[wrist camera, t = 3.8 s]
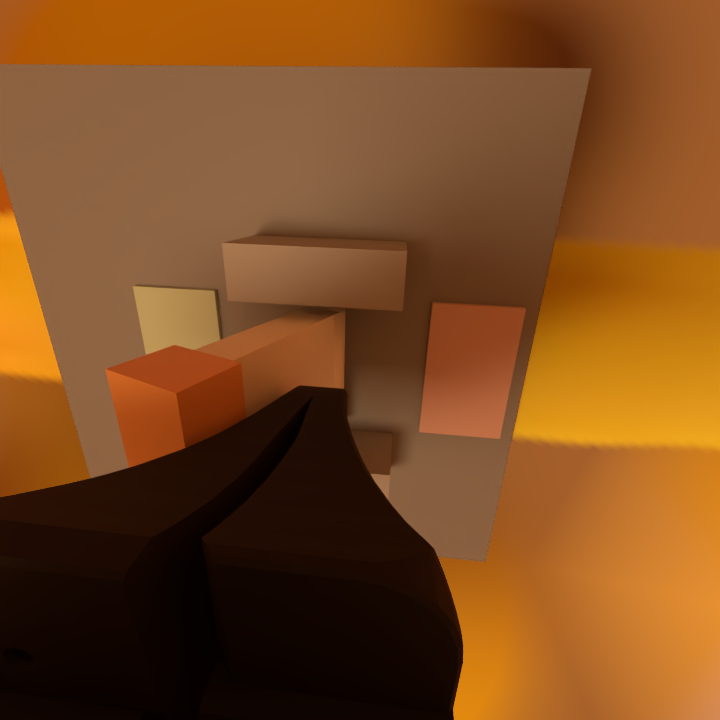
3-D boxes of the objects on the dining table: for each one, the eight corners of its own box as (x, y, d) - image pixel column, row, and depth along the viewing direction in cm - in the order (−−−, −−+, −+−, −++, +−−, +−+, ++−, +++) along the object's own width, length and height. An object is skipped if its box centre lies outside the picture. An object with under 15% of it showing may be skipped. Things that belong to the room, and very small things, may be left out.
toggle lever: (361, 306, 13) (176, 393, 7) (357, 432, 15) (208, 586, 9) (309, 297, 14) (104, 369, 8) (312, 417, 15) (148, 549, 9)
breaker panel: (552, 95, 13) (645, 30, 8) (474, 511, 20) (497, 617, 15) (52, 89, 15) (-134, 31, 10) (141, 478, 22) (60, 564, 16)
